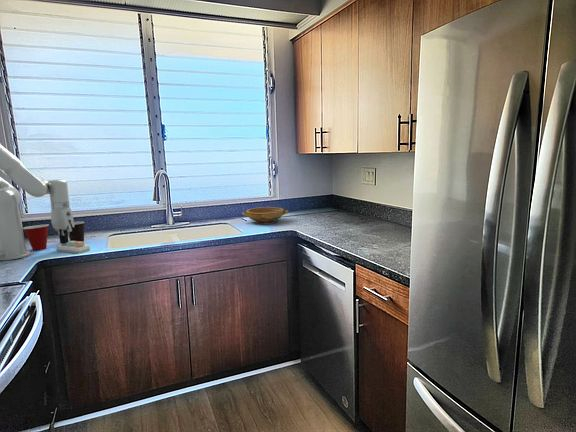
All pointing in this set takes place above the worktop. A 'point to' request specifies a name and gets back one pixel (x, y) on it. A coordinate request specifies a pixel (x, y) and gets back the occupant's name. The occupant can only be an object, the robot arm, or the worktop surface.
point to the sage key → (71, 243)
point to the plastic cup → (37, 236)
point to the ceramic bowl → (265, 214)
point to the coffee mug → (77, 232)
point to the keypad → (73, 248)
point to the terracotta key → (79, 244)
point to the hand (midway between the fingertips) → (64, 242)
